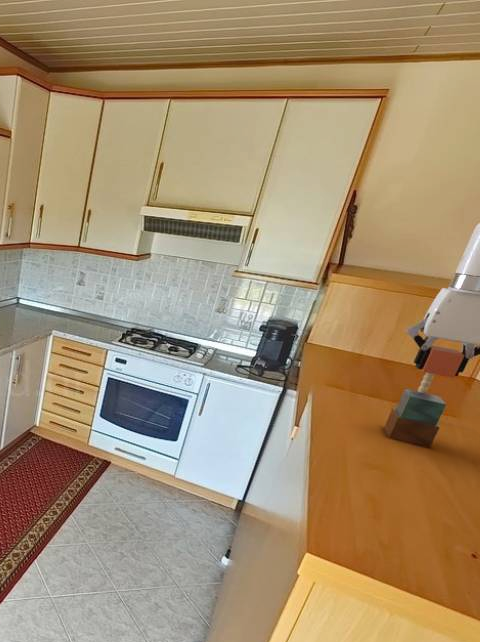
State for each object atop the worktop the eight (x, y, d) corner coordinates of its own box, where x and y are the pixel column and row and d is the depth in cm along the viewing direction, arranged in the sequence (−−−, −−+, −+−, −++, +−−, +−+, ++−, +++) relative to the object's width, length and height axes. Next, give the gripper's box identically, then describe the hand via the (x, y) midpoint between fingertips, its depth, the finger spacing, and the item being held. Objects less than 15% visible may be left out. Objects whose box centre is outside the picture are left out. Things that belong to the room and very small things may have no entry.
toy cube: (447, 372, 105) (458, 350, 103) (453, 378, 100) (464, 355, 99) (417, 366, 107) (427, 344, 105) (422, 371, 103) (433, 349, 101)
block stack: (422, 437, 110) (441, 396, 107) (429, 448, 105) (450, 405, 101) (384, 427, 114) (401, 387, 110) (388, 437, 108) (407, 396, 104)
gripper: (527, 291, 96) (483, 377, 103) (417, 277, 104) (383, 357, 111) (543, 295, 90) (495, 386, 97) (425, 280, 98) (388, 365, 105)
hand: (436, 370), depth 104 cm, fingers closed on toy cube, 5 cm apart
